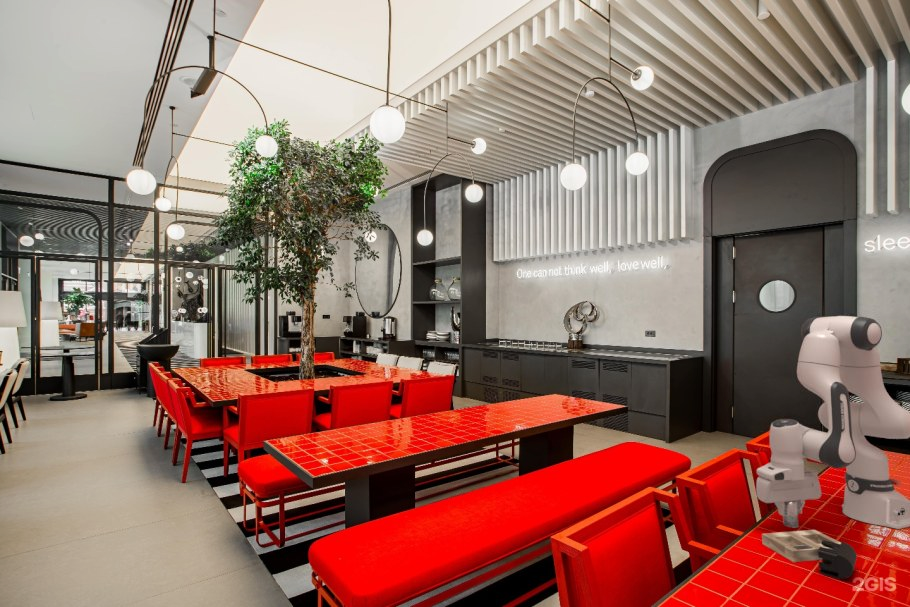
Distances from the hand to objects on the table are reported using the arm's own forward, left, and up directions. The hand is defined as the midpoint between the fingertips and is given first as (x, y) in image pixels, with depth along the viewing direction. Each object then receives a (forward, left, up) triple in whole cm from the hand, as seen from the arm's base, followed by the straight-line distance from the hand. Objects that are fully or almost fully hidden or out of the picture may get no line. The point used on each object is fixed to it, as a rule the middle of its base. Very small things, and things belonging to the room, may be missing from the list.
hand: (790, 513), depth 149 cm
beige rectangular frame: (+7, +12, -6) cm, 14 cm away
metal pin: (0, 0, -4) cm, 4 cm away
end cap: (+8, +24, -6) cm, 26 cm away
